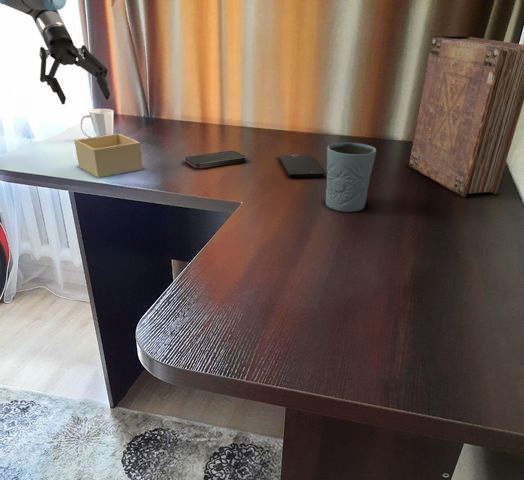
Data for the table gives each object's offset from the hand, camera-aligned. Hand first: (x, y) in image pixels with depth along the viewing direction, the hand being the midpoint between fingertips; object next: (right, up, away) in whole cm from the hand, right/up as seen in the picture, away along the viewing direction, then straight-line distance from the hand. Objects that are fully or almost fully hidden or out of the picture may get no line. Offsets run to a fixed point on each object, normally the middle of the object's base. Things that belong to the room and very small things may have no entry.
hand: (86, 98), depth 148 cm
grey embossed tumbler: (+70, -42, -37) cm, 89 cm away
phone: (+39, -23, -12) cm, 47 cm away
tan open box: (+13, -27, -19) cm, 36 cm away
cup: (+3, -11, +3) cm, 12 cm away
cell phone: (+61, -26, -15) cm, 68 cm away
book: (+99, -31, -20) cm, 105 cm away
